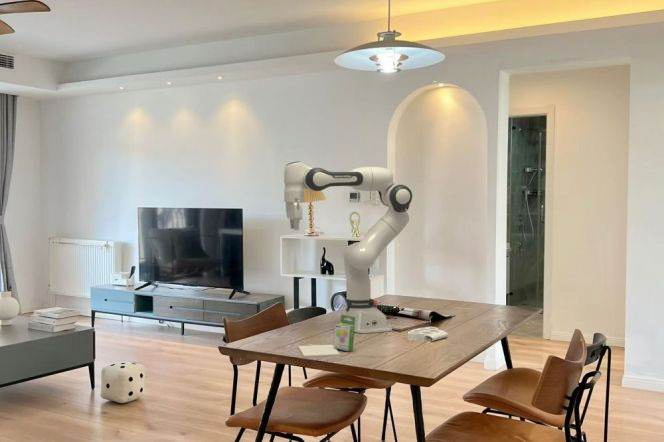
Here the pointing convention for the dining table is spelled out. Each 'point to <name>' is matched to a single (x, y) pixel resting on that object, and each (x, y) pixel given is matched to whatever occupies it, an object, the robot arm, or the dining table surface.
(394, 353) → the dining table surface
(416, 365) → the dining table surface
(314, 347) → the mat
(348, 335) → the ink box
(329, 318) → the dining table surface
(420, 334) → the folded white cloth
